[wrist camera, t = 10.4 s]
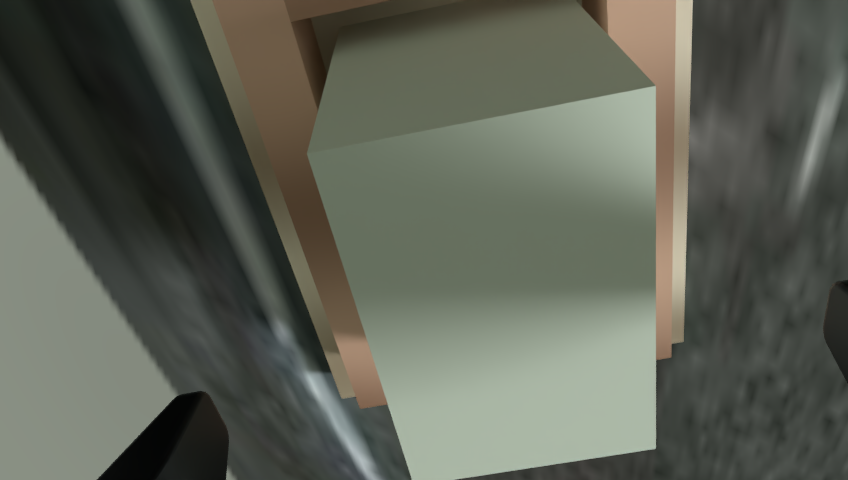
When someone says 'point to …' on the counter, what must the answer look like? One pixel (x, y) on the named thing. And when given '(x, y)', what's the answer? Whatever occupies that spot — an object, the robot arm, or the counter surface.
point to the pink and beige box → (296, 114)
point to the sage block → (497, 230)
